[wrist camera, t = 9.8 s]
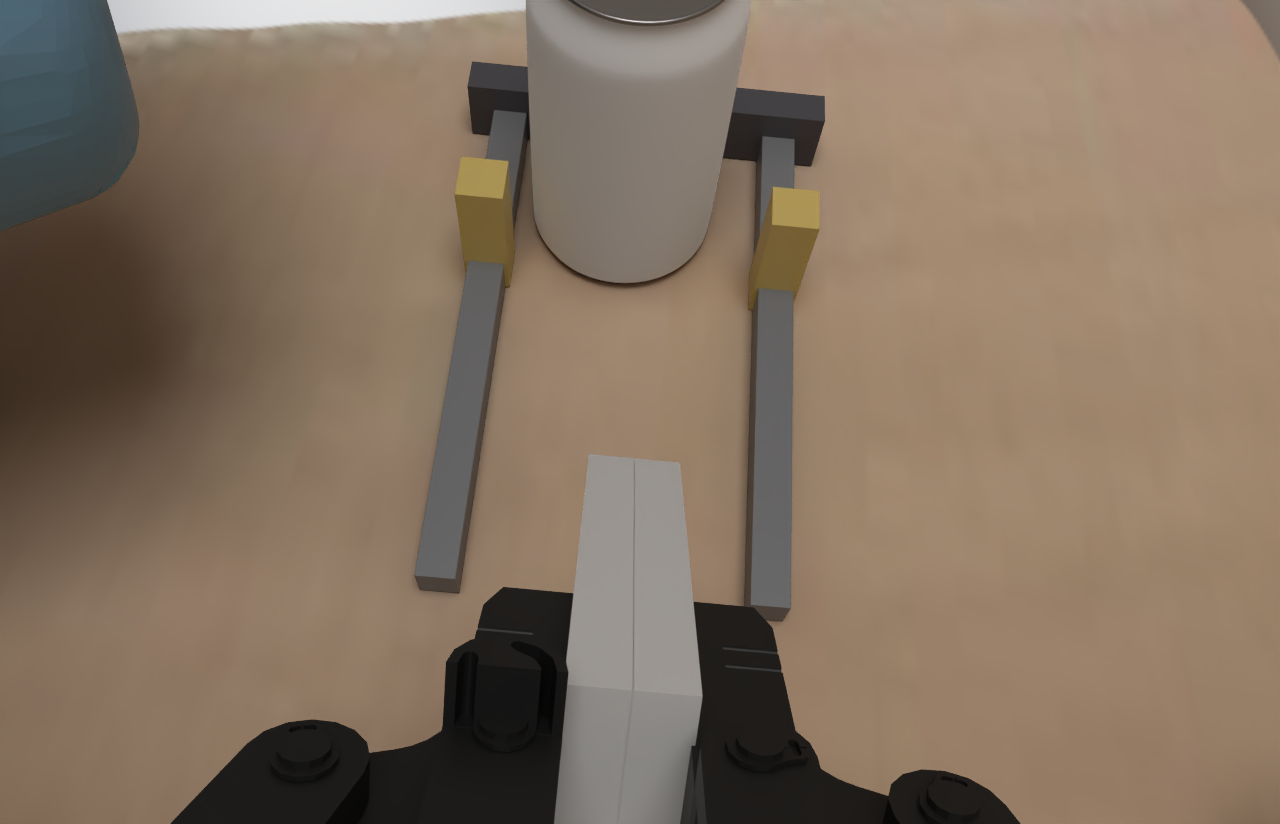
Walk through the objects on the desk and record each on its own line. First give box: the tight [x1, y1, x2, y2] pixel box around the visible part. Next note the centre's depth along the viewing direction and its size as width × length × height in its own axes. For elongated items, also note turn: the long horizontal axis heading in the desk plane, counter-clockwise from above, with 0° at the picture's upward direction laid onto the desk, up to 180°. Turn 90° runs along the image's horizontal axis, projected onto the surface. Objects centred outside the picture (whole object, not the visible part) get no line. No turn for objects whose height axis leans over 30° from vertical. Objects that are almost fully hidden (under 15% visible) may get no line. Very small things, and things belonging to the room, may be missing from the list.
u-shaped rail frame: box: [414, 62, 825, 621], centre depth 36 cm, size 13×19×5 cm
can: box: [526, 0, 750, 283], centre depth 35 cm, size 6×6×12 cm
